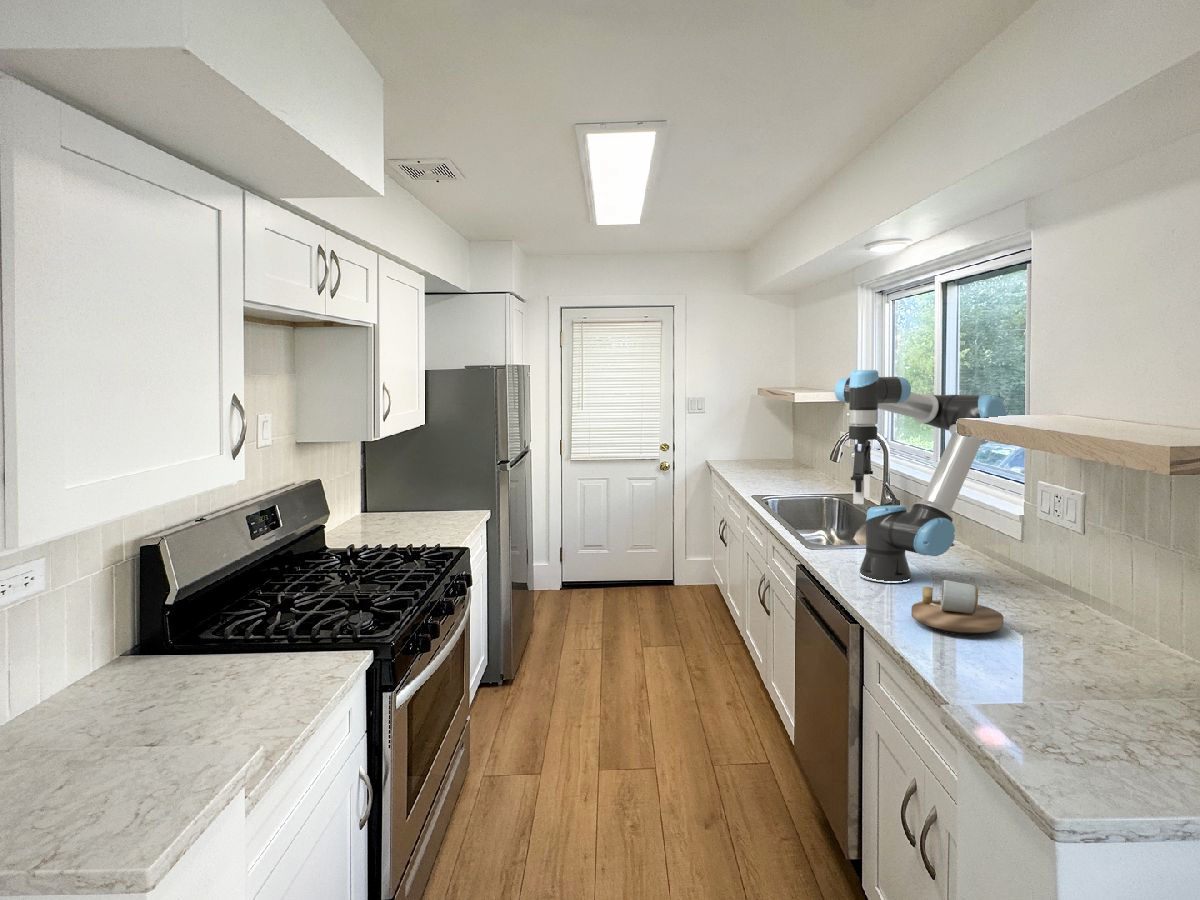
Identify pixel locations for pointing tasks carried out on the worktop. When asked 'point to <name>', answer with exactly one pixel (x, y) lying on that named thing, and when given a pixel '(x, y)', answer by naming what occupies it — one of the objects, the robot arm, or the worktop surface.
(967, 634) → the turntable base
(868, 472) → the robot arm
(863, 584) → the worktop surface
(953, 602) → the ceramic mug
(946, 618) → the disc
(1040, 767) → the worktop surface
